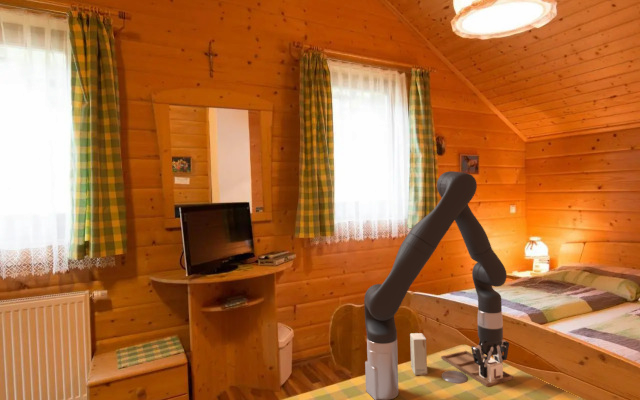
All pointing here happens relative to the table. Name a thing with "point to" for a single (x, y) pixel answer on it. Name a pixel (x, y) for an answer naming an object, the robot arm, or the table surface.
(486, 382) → the tray
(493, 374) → the letter cube
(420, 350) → the skincare box
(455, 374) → the slate coaster
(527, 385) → the table surface
